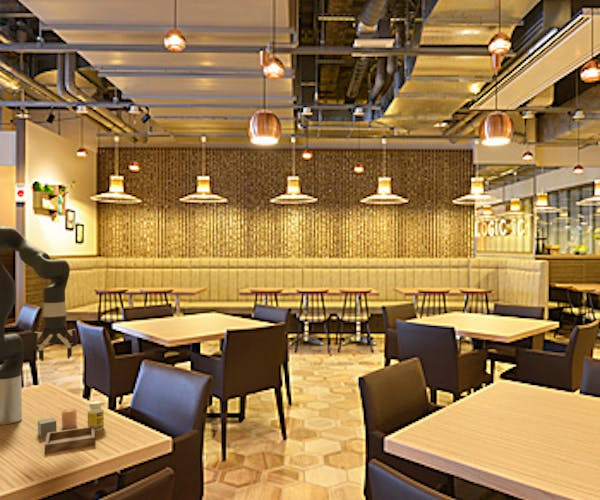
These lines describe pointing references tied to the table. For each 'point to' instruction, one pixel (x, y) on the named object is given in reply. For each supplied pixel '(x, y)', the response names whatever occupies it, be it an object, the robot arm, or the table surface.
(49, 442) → the walnut tray
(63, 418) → the terracotta cylinder
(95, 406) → the supplement bottle
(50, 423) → the blue-grey cube
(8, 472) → the table surface
